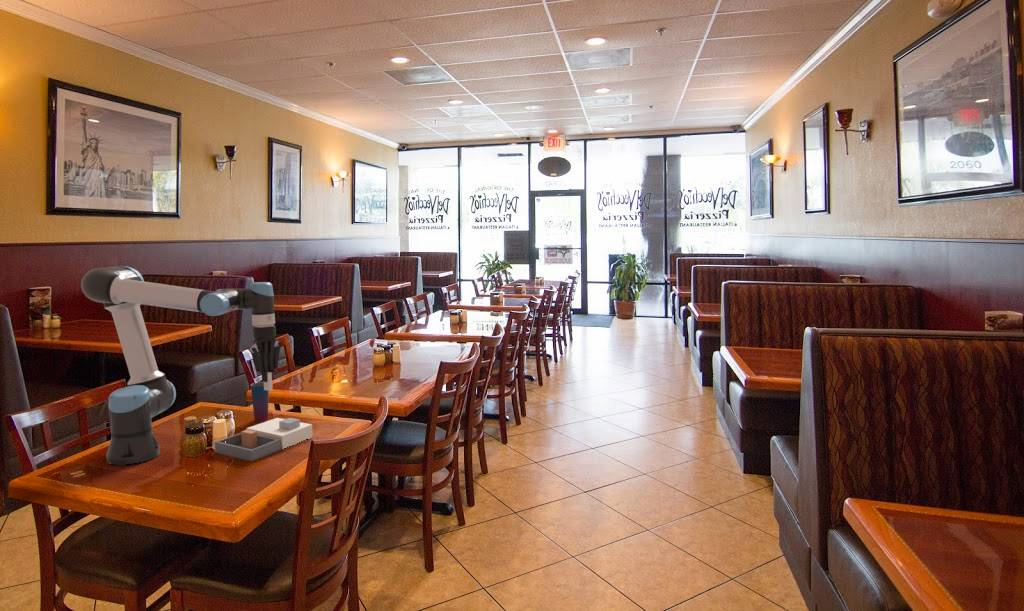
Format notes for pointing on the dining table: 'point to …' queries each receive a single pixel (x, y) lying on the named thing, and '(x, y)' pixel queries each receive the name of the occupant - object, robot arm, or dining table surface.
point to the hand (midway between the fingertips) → (268, 389)
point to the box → (251, 454)
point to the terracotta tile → (249, 438)
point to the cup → (260, 401)
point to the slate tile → (289, 423)
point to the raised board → (283, 432)
